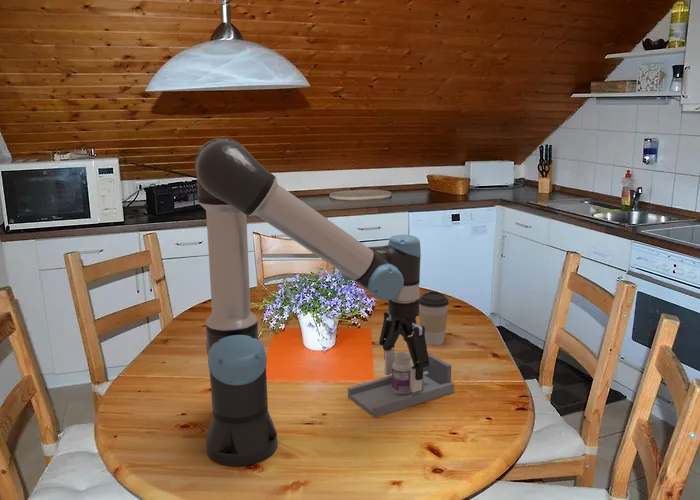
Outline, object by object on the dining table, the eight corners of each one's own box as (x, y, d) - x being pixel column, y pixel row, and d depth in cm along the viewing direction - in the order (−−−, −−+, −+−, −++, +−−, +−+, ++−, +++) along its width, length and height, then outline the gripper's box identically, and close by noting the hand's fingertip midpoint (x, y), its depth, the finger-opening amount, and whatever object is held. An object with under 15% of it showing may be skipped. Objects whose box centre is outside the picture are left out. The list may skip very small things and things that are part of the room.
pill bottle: (399, 383, 159) (400, 349, 156) (417, 389, 155) (417, 354, 153) (387, 391, 155) (387, 355, 152) (405, 397, 151) (405, 361, 149)
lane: (375, 417, 144) (375, 390, 142) (347, 396, 154) (347, 371, 152) (453, 392, 156) (454, 367, 154) (423, 374, 166) (423, 350, 165)
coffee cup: (447, 347, 184) (448, 300, 180) (417, 345, 185) (417, 298, 182) (447, 336, 193) (448, 290, 189) (418, 334, 194) (419, 289, 190)
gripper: (446, 309, 141) (443, 396, 147) (389, 284, 161) (388, 362, 166) (420, 315, 138) (418, 404, 143) (365, 289, 157) (365, 368, 162)
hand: (402, 381), depth 154 cm, fingers open, 10 cm apart
